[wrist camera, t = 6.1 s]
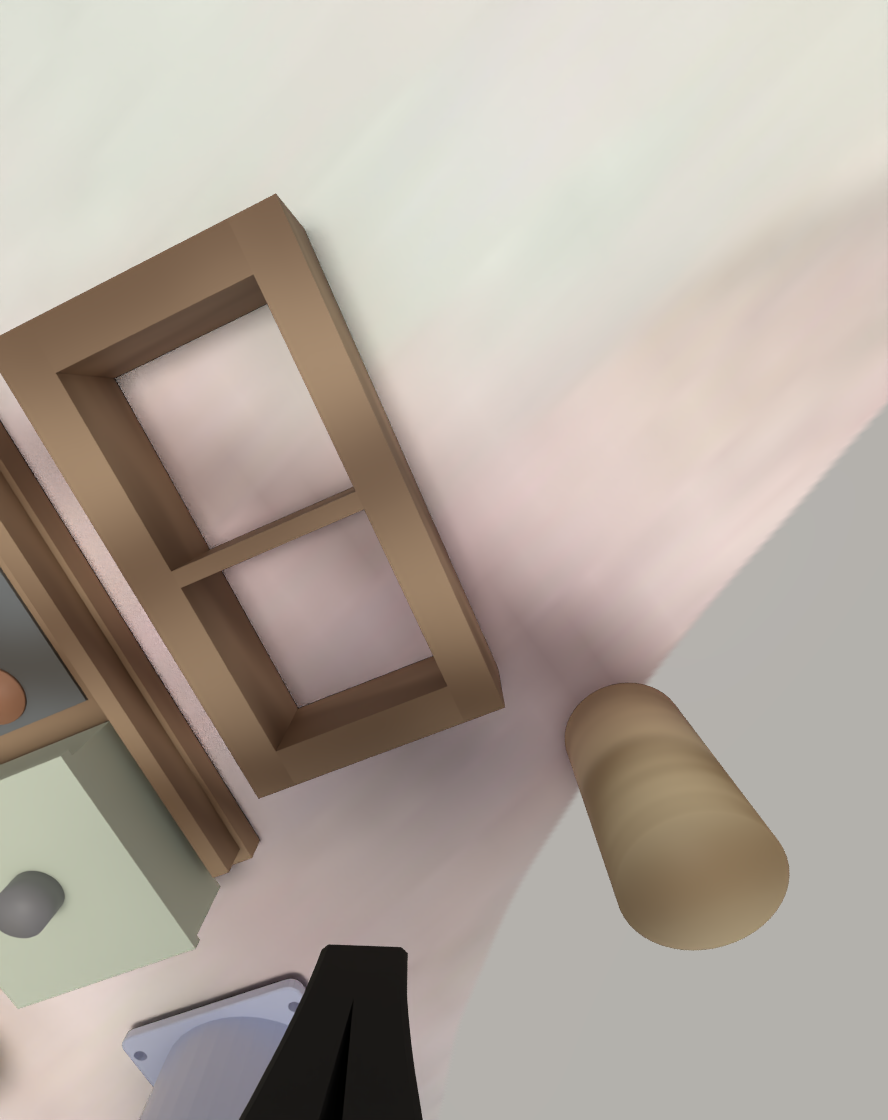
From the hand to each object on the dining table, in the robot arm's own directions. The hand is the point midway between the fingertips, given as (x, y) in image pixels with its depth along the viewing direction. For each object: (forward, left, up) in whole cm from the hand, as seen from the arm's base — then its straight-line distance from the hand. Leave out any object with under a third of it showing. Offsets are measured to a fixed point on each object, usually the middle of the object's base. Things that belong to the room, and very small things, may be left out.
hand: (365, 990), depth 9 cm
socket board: (+7, +1, -9) cm, 12 cm away
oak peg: (-4, -6, -10) cm, 12 cm away
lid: (0, +12, -8) cm, 14 cm away
